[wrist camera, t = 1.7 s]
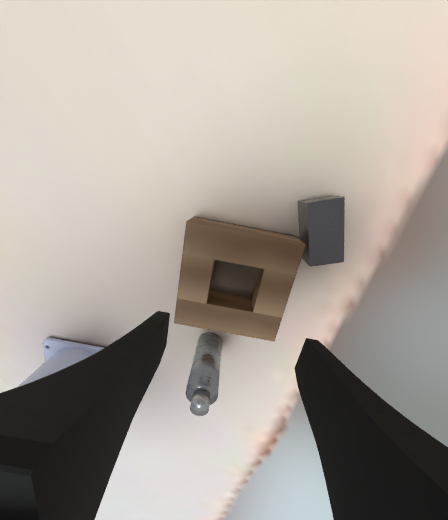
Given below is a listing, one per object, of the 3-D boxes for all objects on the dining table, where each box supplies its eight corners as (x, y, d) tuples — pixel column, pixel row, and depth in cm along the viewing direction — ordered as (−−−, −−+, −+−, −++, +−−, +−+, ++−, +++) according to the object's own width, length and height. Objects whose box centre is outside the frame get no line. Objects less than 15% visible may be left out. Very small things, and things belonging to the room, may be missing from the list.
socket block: (269, 321, 21) (274, 341, 18) (182, 305, 21) (174, 323, 18) (294, 235, 18) (305, 244, 16) (193, 216, 18) (186, 221, 15)
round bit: (219, 354, 23) (213, 423, 16) (196, 350, 23) (180, 417, 16) (223, 335, 22) (219, 400, 15) (199, 330, 22) (184, 393, 15)
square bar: (329, 252, 19) (343, 261, 16) (300, 256, 19) (309, 266, 17) (328, 195, 17) (344, 196, 15) (297, 201, 18) (307, 203, 15)
